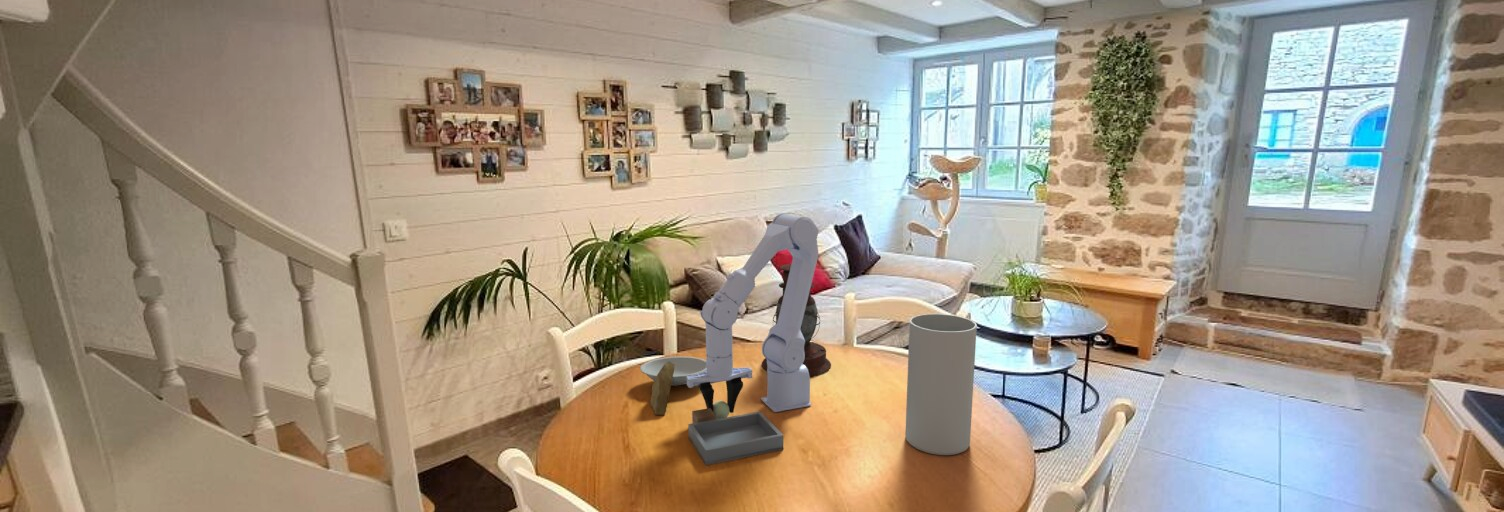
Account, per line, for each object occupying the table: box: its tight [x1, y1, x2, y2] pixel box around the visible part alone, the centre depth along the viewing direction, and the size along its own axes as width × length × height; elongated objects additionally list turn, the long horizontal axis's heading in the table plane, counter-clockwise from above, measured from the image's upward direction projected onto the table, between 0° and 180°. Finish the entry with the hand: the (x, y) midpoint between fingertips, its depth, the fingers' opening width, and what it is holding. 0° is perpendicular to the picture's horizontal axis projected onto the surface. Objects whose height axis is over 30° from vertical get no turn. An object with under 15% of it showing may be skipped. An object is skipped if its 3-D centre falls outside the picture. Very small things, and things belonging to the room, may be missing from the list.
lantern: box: [761, 263, 832, 378], centre depth 166 cm, size 19×19×30 cm
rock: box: [649, 362, 675, 416], centre depth 142 cm, size 11×9×10 cm
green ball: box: [713, 400, 730, 419], centre depth 136 cm, size 4×4×4 cm
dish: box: [639, 355, 707, 387], centre depth 155 cm, size 18×14×5 cm
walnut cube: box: [691, 407, 716, 424], centre depth 130 cm, size 4×4×4 cm
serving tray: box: [687, 411, 784, 466], centre depth 124 cm, size 16×12×3 cm
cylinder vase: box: [904, 313, 978, 456], centre depth 122 cm, size 12×12×25 cm
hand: (720, 412), depth 136 cm, fingers open, 4 cm apart
